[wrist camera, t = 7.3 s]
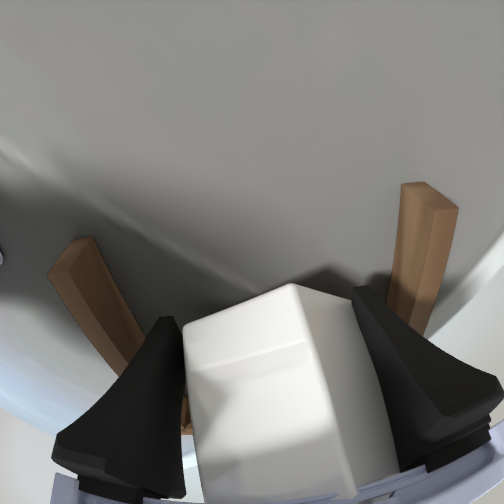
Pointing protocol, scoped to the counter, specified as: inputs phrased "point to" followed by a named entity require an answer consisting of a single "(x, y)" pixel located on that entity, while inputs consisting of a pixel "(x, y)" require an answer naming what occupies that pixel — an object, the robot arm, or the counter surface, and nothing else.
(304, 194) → the counter surface
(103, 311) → the bay
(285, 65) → the counter surface
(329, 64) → the counter surface
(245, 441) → the jar
